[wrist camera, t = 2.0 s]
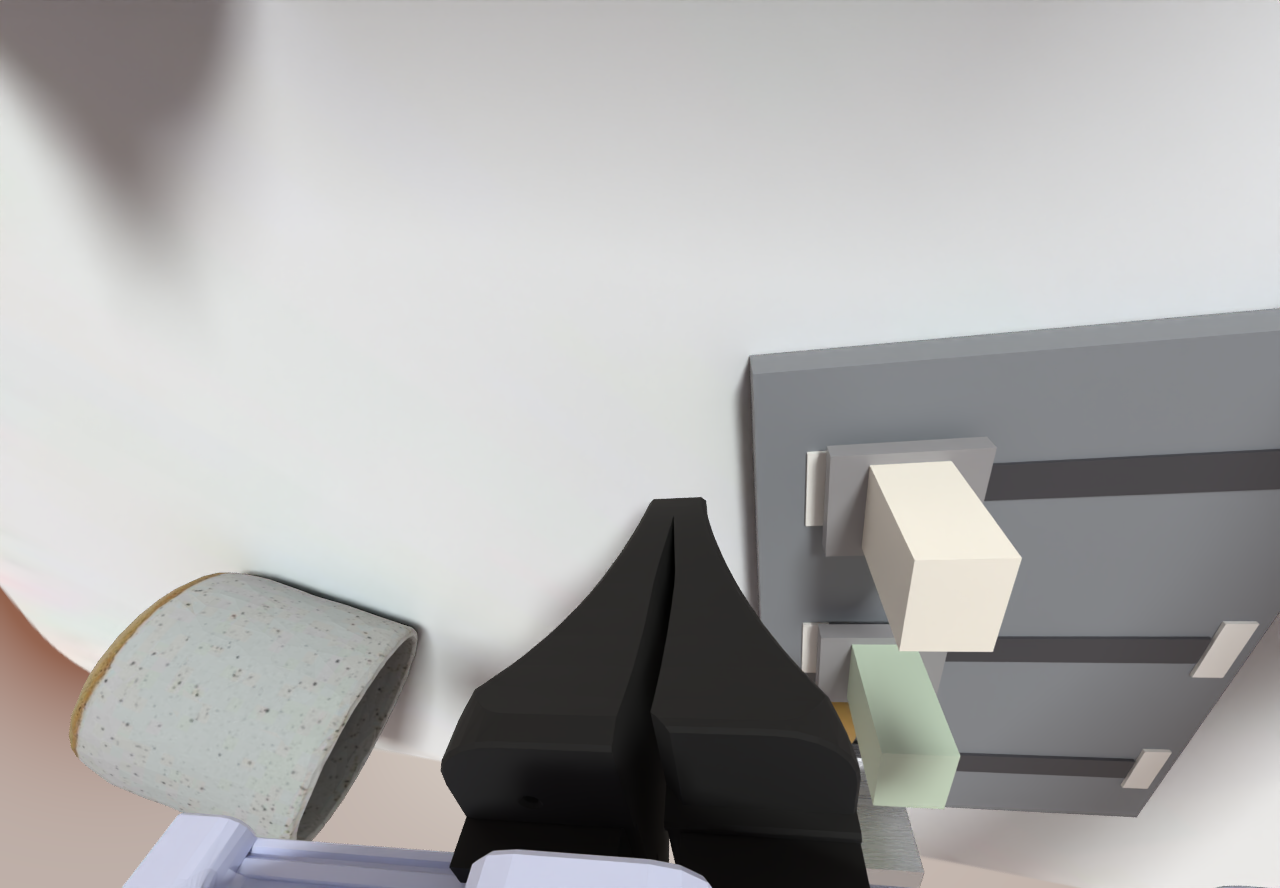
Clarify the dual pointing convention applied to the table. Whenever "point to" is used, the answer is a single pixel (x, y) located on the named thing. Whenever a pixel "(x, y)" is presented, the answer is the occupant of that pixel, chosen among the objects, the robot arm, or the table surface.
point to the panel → (1054, 534)
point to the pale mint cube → (891, 712)
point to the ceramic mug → (243, 702)
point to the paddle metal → (887, 840)
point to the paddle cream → (924, 537)
